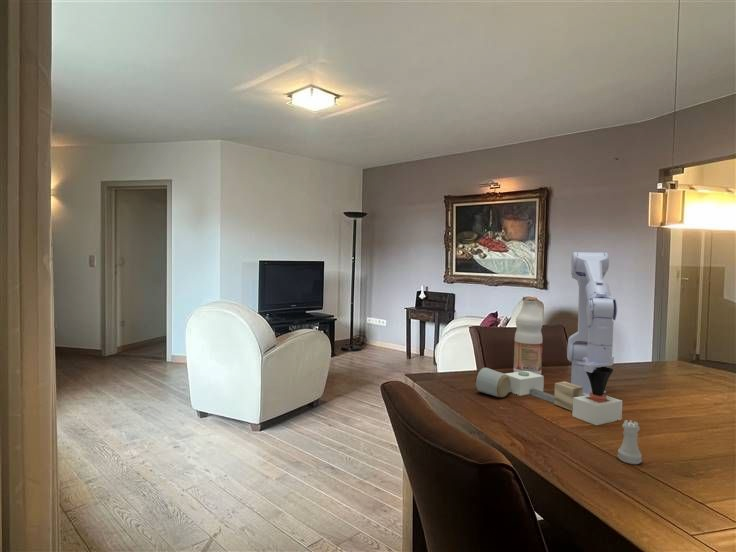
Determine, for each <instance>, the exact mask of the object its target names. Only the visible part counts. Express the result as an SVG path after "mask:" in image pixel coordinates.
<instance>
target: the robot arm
mask: <svg viewBox="0 0 736 552" xmlns="http://www.w3.org/2000/svg"><path fill="white" fill-rule="evenodd" d="M570 264H571V266H570V268H571V269H570V274H571V278H572V279H573V280H576V281H577V284H578V302H577V303H578V305H577V306H578V307H577V308H578V311H577V314H578V316H577V331H576V332H574V333H573V334H572V335H570V336H569V337H568V339H567V344H566V345H567V346H566V357H567V360H568V362H571V369H570V370H571V376H570V383H571V384H574V385H578V386H581V387H583V396H585V395H589V393H591V392H592V393H593V394H594V395H598V396H602V395H603V394H606V392H607V391H606V388H607V384H608V381H609V378H610V377H611V375H612V374H613V372H614V369H613V368H611V366H613V365H614V363H615V362H614V361H615V360H614V359H615V358H614V357H613V340H614V321H616V319H617V315H618V305H617V304H618V303H617V300H616V298H615V297H614V296H612V294H611V291H610V286H609V284H608V282H607V281H605V280H604V277H605V276H606V274H607V272H608V271H609V266H610V256H609V254H608V253H607V252H605V251H603V252H588V251H587V252H583V251H582V252H578V251H573V253H572V255H571V261H570Z"/></svg>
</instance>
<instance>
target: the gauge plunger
mask: <svg viewBox="0 0 736 552" xmlns="http://www.w3.org/2000/svg"><path fill="white" fill-rule="evenodd" d="M589 396H590V397H591V400H593V401H596V402H599V403H601V402H604V401H605V399H606V396H607V394H606V393H604V394H603V395H602V396H598V395H594V394H593V393H592V392H591V393H589Z"/></svg>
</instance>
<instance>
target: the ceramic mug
mask: <svg viewBox="0 0 736 552" xmlns="http://www.w3.org/2000/svg"><path fill="white" fill-rule="evenodd" d="M505 374H506V373H503V372H500V371H498V370H497V371H496V370H494V369H491V368H489V367H483V368H481V369H480V370H479V371H478V373H477V376H476V381H475V387H476V390H477V391H479V393H483V394H486V395H490V396H492V397H496V398H505V397H506V396H507V395H508V394H509V393H511V392H510V391H511V387H510V386H511V382H510V378H509V377H508V376H507V375H505Z"/></svg>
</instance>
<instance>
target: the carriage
mask: <svg viewBox="0 0 736 552" xmlns="http://www.w3.org/2000/svg"><path fill="white" fill-rule="evenodd" d="M579 396H583V387H581V386H578V385H574V384H571V382H568V381H559V382H555V383H554V403H553V404H554V405H556V406H558V407H561V408H564V409H567V410H569V411H571V412H573V398H574V397H579Z"/></svg>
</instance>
